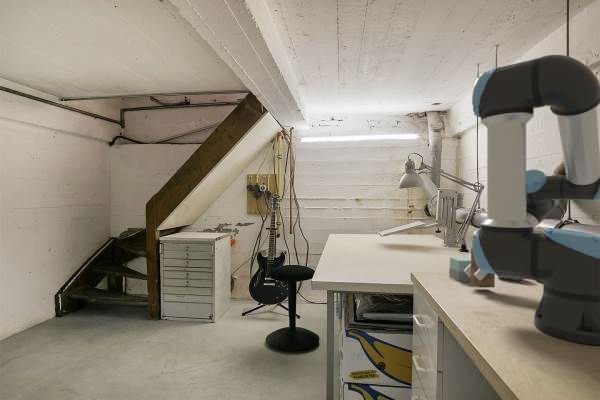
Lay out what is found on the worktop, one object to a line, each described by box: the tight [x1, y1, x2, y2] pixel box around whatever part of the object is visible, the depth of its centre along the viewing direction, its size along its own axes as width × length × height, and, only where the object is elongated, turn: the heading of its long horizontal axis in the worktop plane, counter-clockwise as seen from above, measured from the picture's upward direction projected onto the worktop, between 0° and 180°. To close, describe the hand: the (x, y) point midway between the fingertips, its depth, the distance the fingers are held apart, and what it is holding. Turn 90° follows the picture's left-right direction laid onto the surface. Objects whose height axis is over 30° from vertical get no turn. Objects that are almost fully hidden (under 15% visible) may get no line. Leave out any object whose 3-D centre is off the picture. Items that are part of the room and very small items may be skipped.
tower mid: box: [449, 256, 471, 272], centre depth 124 cm, size 7×7×4 cm
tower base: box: [448, 267, 471, 283], centre depth 124 cm, size 7×7×4 cm
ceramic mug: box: [496, 275, 523, 281], centre depth 126 cm, size 10×8×7 cm
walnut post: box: [470, 248, 496, 288], centre depth 109 cm, size 5×5×12 cm
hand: (471, 275), depth 109 cm, fingers closed on walnut post, 5 cm apart
